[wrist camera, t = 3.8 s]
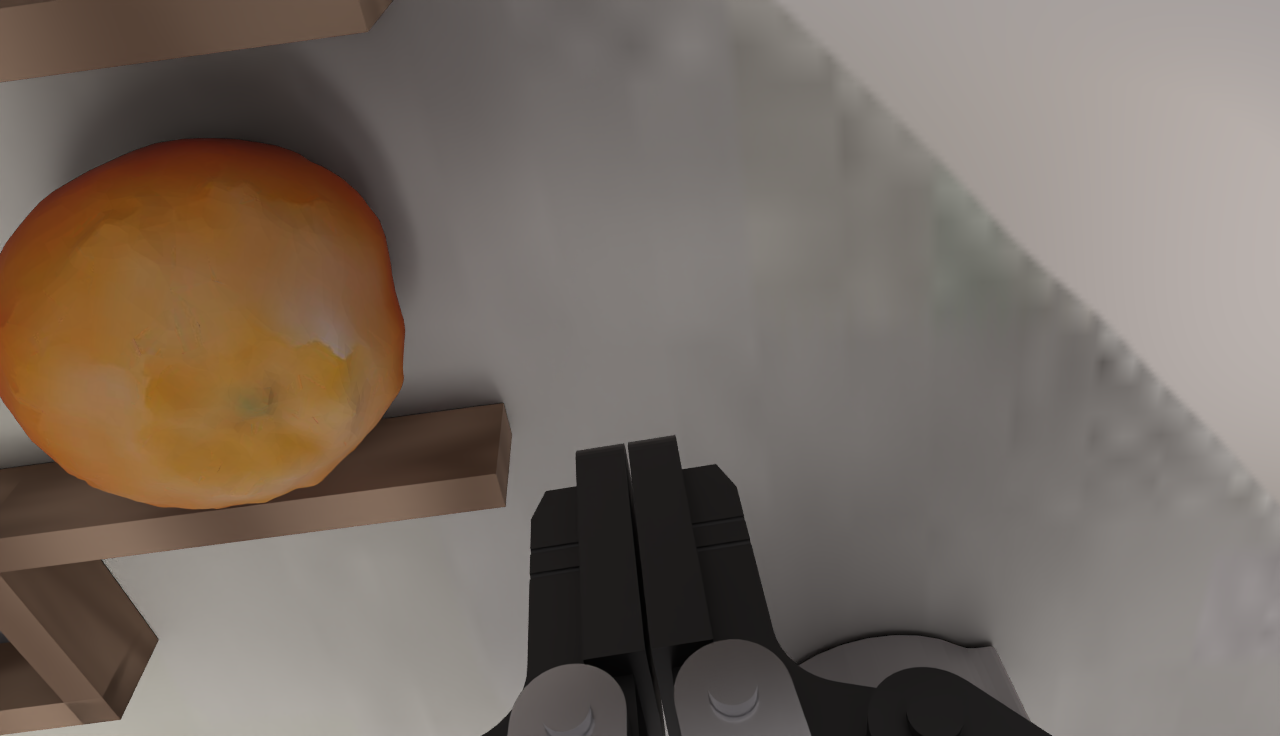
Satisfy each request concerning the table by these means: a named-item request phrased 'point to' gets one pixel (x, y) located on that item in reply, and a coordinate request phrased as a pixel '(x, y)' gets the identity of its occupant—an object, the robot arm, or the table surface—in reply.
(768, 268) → the table surface
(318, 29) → the trap box
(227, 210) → the fruit
